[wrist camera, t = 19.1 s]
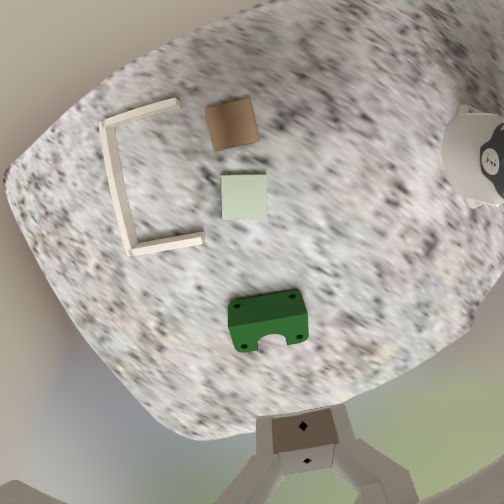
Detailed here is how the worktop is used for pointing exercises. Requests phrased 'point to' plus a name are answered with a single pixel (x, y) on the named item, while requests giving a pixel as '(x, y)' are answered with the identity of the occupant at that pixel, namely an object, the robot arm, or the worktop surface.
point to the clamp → (267, 319)
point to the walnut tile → (231, 124)
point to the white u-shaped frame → (119, 188)
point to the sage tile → (244, 196)
